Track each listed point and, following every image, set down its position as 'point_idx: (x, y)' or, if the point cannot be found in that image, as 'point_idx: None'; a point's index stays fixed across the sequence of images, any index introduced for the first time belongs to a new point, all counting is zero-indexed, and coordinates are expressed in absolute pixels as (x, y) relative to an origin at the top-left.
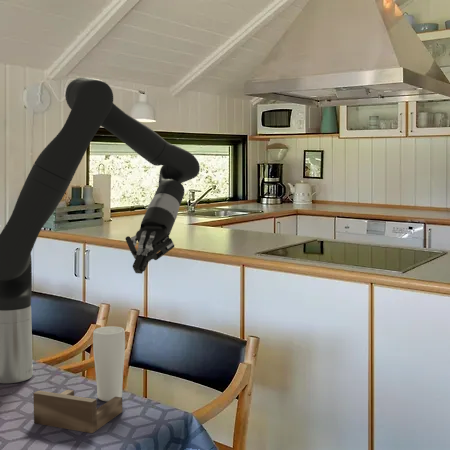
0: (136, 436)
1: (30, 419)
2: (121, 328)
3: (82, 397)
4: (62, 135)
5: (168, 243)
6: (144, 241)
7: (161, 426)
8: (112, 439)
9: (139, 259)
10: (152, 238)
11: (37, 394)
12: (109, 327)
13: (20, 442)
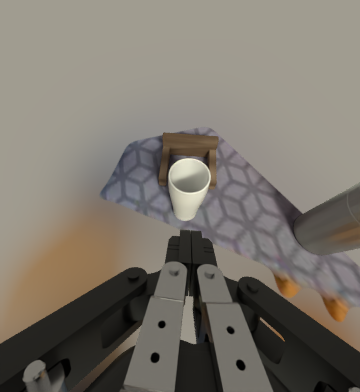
0: (132, 152)
1: (220, 157)
2: (178, 189)
3: (175, 138)
4: None
5: (6, 345)
6: (212, 346)
7: (119, 169)
8: (147, 145)
9: (192, 251)
10: (141, 372)
11: (214, 136)
12: (198, 191)
13: (202, 130)
